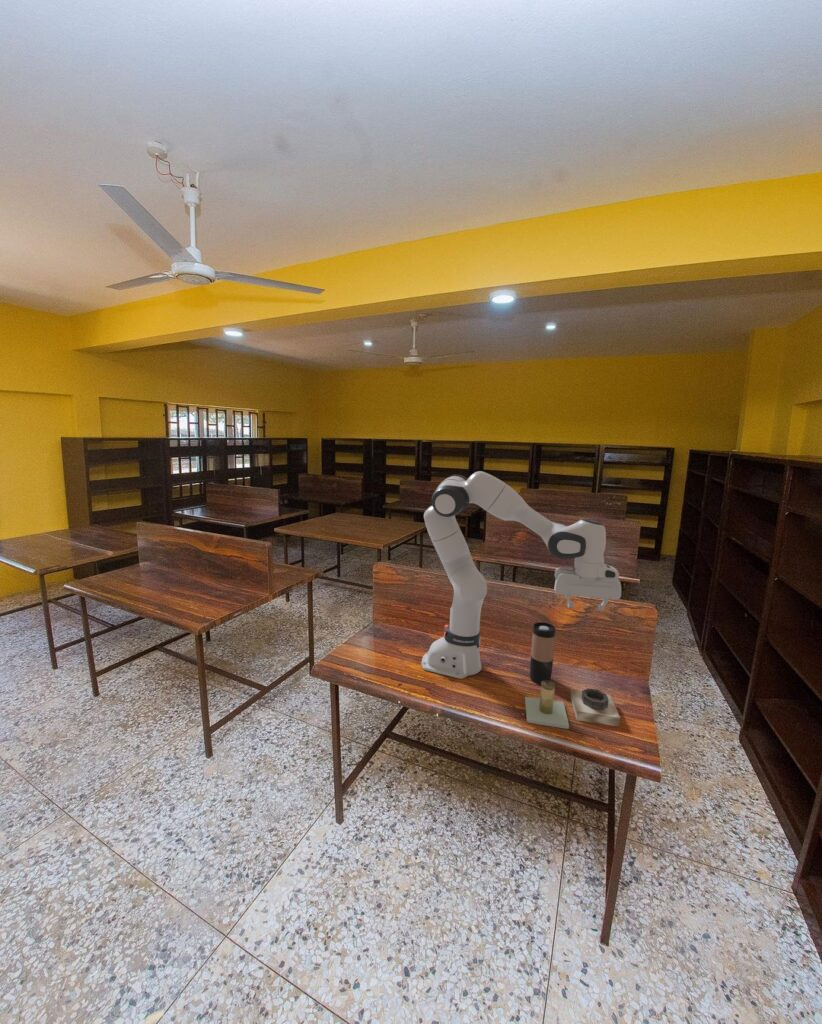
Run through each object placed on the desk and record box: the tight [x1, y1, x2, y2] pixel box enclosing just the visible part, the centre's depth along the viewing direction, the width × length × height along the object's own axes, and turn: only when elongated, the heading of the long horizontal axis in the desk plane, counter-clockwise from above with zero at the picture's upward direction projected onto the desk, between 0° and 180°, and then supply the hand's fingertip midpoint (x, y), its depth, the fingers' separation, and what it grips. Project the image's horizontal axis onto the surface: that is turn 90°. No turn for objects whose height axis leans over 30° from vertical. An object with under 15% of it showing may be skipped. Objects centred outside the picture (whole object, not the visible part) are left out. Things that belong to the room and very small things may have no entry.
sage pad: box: [524, 696, 570, 730], centre depth 130 cm, size 12×12×1 cm
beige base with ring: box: [570, 688, 621, 727], centre depth 132 cm, size 12×12×6 cm
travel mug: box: [529, 621, 556, 686], centre depth 148 cm, size 8×8×20 cm
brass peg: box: [539, 680, 556, 714], centre depth 129 cm, size 4×4×9 cm
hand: (585, 609), depth 138 cm, fingers open, 8 cm apart
